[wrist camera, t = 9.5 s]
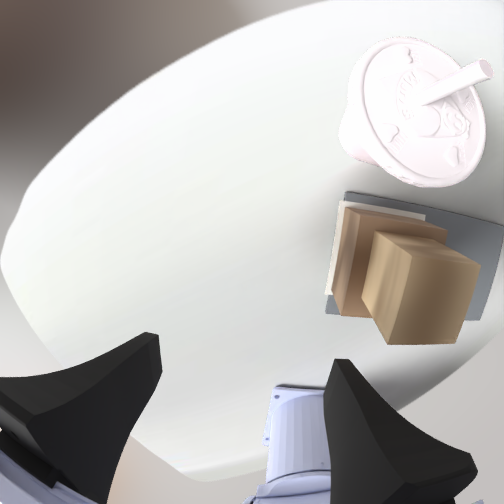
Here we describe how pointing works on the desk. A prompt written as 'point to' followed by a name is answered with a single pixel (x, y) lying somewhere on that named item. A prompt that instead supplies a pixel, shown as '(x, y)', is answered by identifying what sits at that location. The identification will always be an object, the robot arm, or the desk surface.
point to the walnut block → (368, 252)
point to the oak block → (418, 289)
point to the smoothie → (415, 112)
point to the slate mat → (458, 238)
